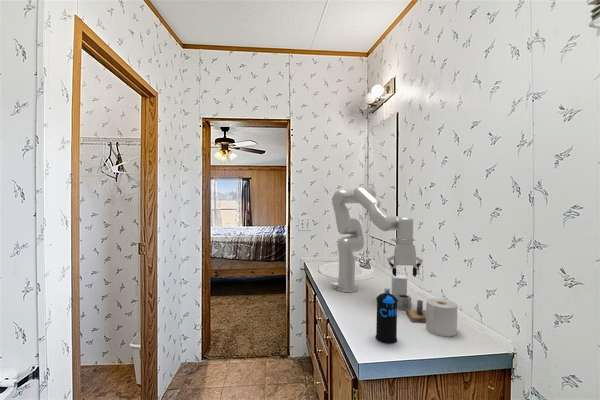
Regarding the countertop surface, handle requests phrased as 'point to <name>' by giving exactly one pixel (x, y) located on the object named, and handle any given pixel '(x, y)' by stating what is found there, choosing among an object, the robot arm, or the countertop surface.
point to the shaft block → (417, 313)
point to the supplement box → (399, 285)
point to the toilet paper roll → (441, 317)
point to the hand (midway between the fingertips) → (404, 276)
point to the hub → (403, 302)
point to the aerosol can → (386, 317)
